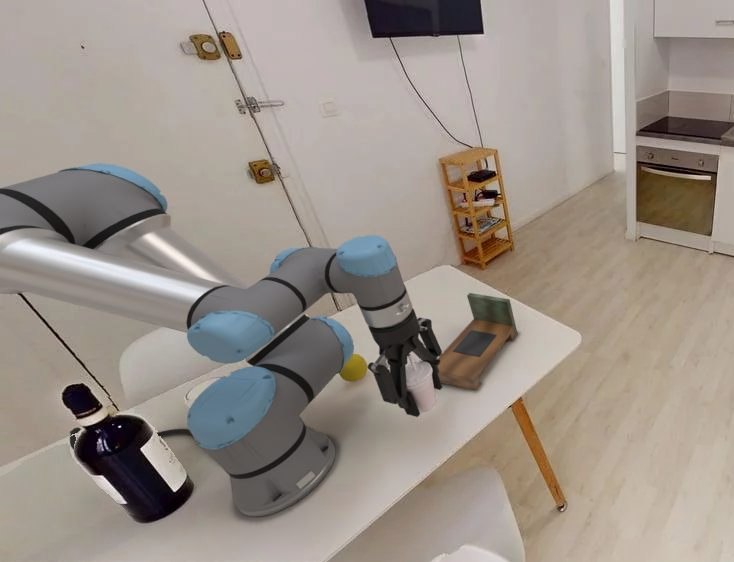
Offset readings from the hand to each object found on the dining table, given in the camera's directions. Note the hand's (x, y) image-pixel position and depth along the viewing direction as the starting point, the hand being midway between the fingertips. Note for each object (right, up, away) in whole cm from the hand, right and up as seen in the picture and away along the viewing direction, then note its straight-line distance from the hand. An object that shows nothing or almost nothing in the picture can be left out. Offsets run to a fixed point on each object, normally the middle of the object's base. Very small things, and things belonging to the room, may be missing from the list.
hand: (425, 400), depth 85 cm
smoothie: (0, -1, +1) cm, 2 cm away
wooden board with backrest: (+3, +3, +19) cm, 19 cm away
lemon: (-23, -1, +14) cm, 27 cm away
